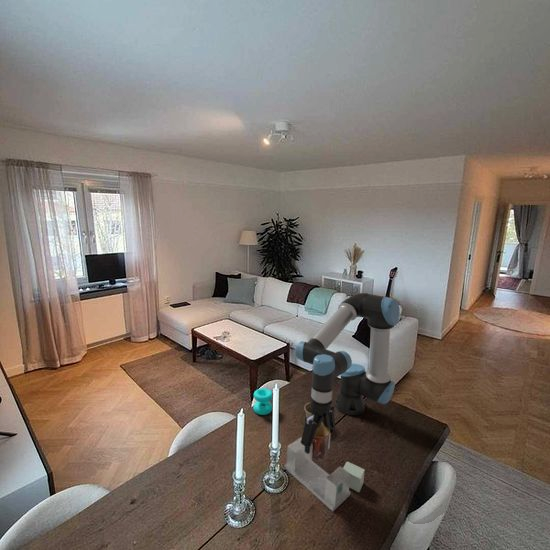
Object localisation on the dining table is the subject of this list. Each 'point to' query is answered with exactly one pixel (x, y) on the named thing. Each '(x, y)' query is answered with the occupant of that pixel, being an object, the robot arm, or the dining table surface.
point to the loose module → (355, 476)
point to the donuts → (263, 401)
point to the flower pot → (308, 410)
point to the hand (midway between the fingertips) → (317, 452)
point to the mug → (320, 442)
